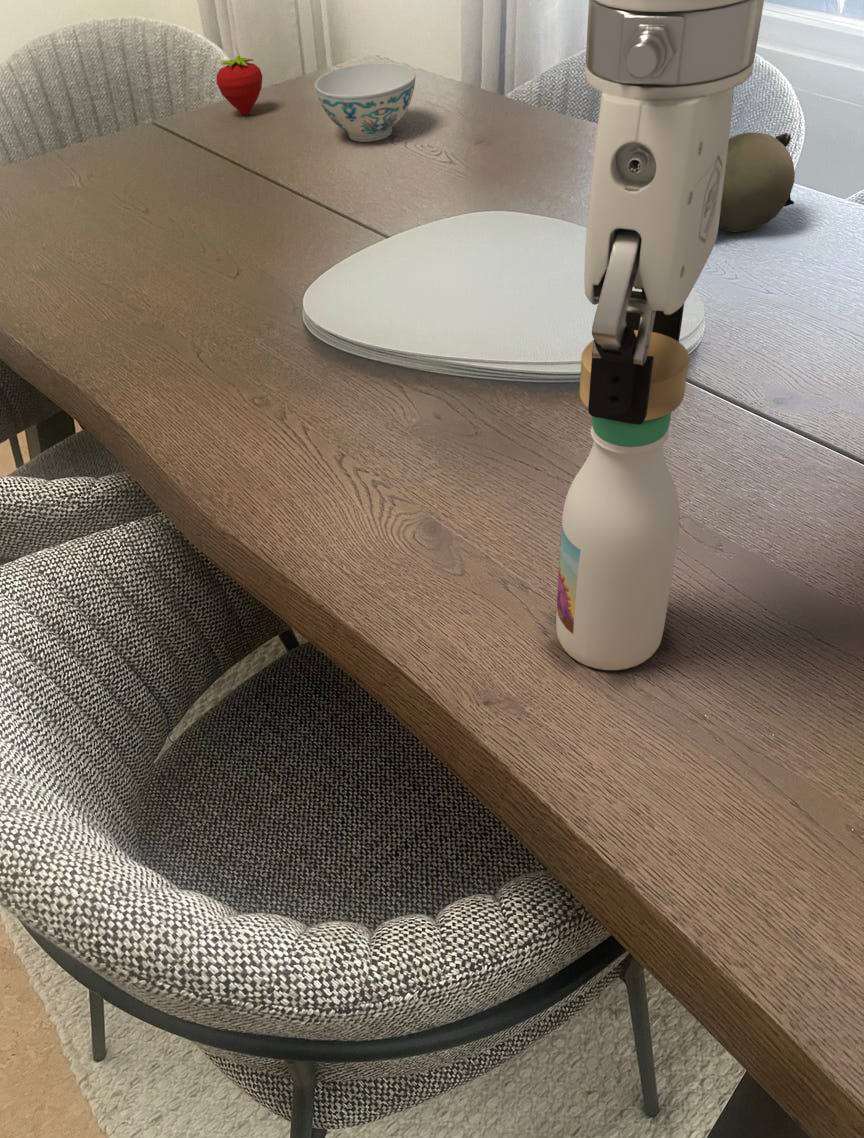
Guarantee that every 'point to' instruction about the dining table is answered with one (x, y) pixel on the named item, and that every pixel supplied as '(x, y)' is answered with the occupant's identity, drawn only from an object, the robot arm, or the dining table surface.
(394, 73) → the chinaware
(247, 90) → the strawberry
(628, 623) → the milk bottle
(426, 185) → the dining table surface
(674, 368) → the tan short cylinder
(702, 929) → the dining table surface
